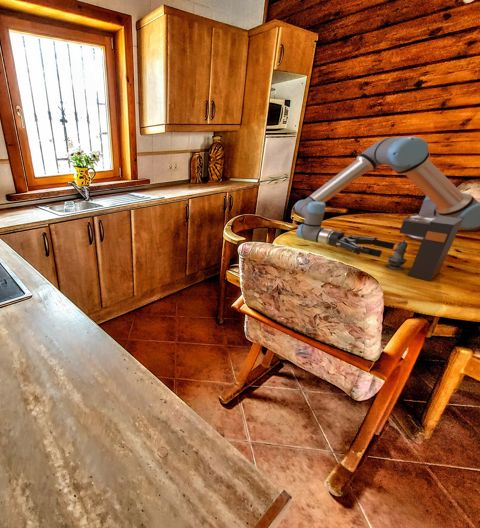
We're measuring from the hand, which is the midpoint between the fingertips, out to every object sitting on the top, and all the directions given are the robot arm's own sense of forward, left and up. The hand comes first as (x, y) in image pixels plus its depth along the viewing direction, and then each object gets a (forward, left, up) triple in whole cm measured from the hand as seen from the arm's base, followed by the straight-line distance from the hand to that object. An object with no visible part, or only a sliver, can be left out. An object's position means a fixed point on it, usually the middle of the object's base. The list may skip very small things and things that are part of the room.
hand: (387, 250), depth 117 cm
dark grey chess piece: (0, +4, -7) cm, 8 cm away
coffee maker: (0, +9, -7) cm, 11 cm away
